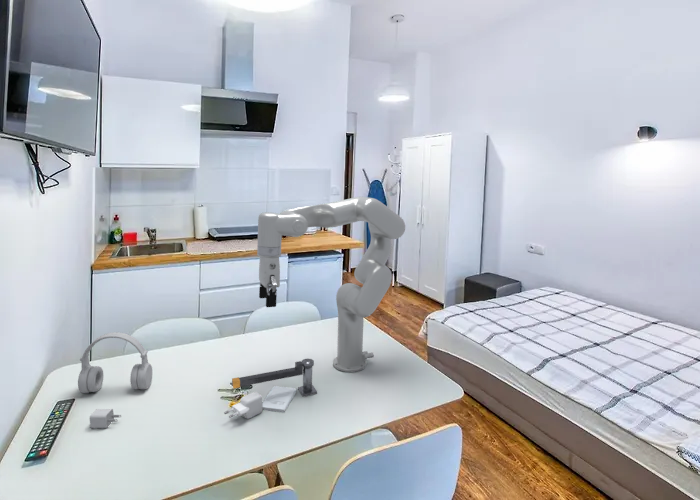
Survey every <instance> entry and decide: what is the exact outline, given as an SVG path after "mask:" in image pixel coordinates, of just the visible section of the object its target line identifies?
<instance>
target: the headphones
mask: <svg viewBox="0 0 700 500" xmlns="http://www.w3.org/2000/svg"><path fill="white" fill-rule="evenodd" d="M105 339H120V340H124V341H126V342H128V343H130V344H131V345H132V346H133V347H135V348H136V349H137V351H138V352H139V355H140V356H139V357H140V358H141V363H136V364H135V365H133V367H132V368H131V372H130V377H129V378H130V379H129V382H130V386H131V388H132V389H133V390H139V389H140V390H147V389H148V388H150V386H151V385H152V384H151V383H152V381H153V367H152V365H151V363H150V362H149V359H148V351H149V350H148V349H145V347H144V346H143V345H142V343H141V342H140V341H139V340H138V339H137V338H135V337H133V336H132V335H130V334H127V333H124V332H119V331H118V332H115V331H114V332H108V333H104V334H103V335H100V336H98V337H97V338H96V339H94V340H93V341H92V343H90V344H89V345H88V346H87V348H86V349H85V350H84V352H83V355H82V356H81V357H80V359H79V361H80V362H81V370H80V372H79V375H78V380H77V387H78V390H79V391H80V393H82V394H89V392H90V393H97V392H99V390H100V389H101V387H102V386H103V382H104V369H103V368H102V367H101V366H100V365H94V366H93V365H91V364H90V361H89V356H90V354H89V353H90V351H91V350H92V348H93V347H94V346H95V345H96V344H97V343H99V342H100V341H103V340H105Z"/></svg>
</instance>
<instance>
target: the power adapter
mask: <svg viewBox="0 0 700 500" xmlns="http://www.w3.org/2000/svg"><path fill="white" fill-rule="evenodd" d="M262 402H263V396H262V394H261V393H259V392H257V391H253V392H250V393H248V394H246V395H244V396H242V397H241V398H240V400H239V402H237V403H235V404H234V405H232V406H231V408H229V409H228V410H226V411H224V412H223V414H224V415H226V414H229V413H231V412H233V413H232V414H230V415H228V418H229V419H230V418H231V419H232V418H233V417H235V416H238V417H241V416H242V417H243V418H244V419H246V420H247V419H248V420H250V419H251V418H253V417H256V416H257V415H259V414H261V413H262V412H263V410H262V409H263V404H262Z"/></svg>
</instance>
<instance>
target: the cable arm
mask: <svg viewBox="0 0 700 500" xmlns="http://www.w3.org/2000/svg"><path fill="white" fill-rule="evenodd" d="M314 366H315V360H313V359H312V358H304V359H302V360H300V361H295V362H294V367H290V368H284V369H283V368H282V369H280V370H274V371H268V372H262V373H257V374H252V375H245V376H240V377H233V378H231V384H232V385H231V386H232V389H239V388H241V387H247V386H252V385H257V384H262V383H267V382H273V381H277V380H282V379H288V378H292V377H298V376H303V367H305V368H310V367H312V368H313V367H314Z"/></svg>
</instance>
